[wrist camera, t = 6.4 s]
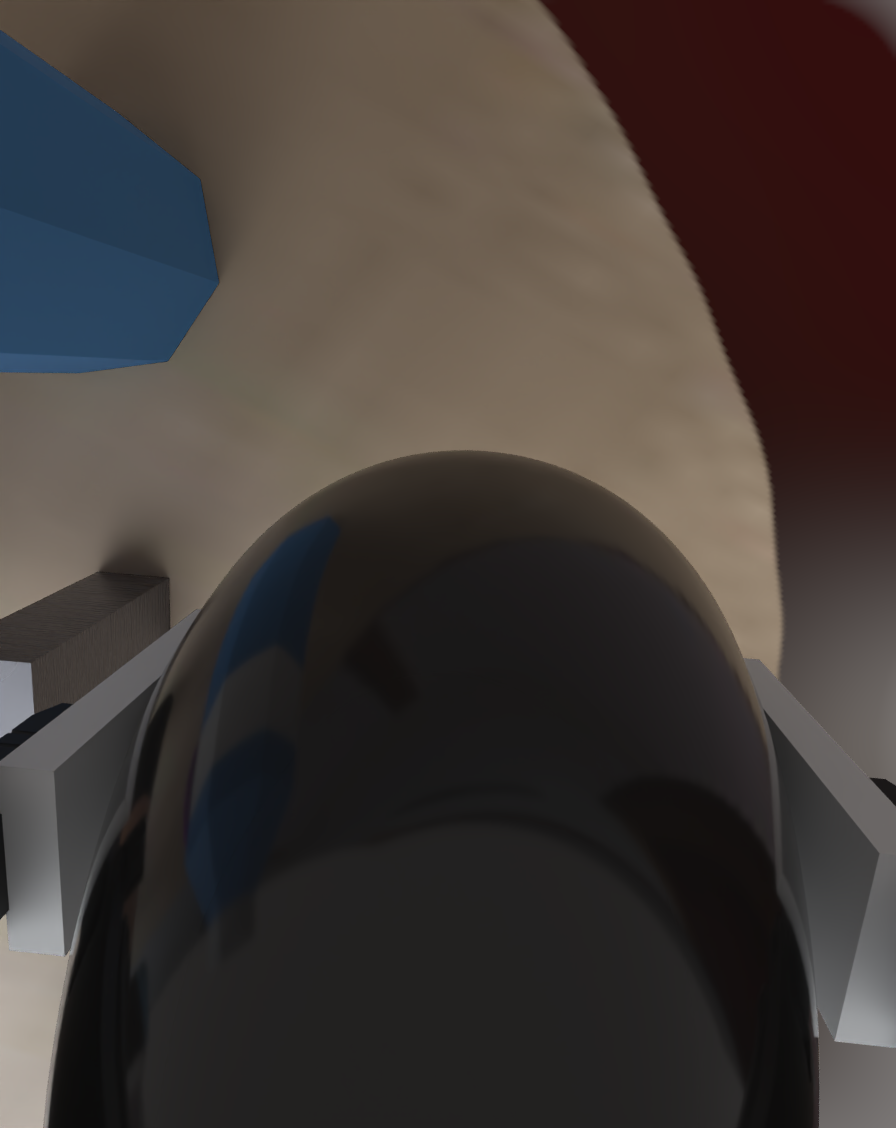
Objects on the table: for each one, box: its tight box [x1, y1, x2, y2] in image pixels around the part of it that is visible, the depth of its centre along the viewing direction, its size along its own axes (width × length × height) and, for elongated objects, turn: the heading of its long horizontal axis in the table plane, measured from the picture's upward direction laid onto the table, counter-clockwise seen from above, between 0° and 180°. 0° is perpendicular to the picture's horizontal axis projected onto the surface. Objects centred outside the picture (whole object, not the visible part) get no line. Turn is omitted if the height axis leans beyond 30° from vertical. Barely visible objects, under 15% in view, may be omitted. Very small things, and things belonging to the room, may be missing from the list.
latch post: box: [0, 572, 170, 738], centre depth 27 cm, size 4×5×10 cm, turn 176°
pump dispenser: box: [43, 450, 820, 1128], centre depth 11 cm, size 10×10×15 cm
